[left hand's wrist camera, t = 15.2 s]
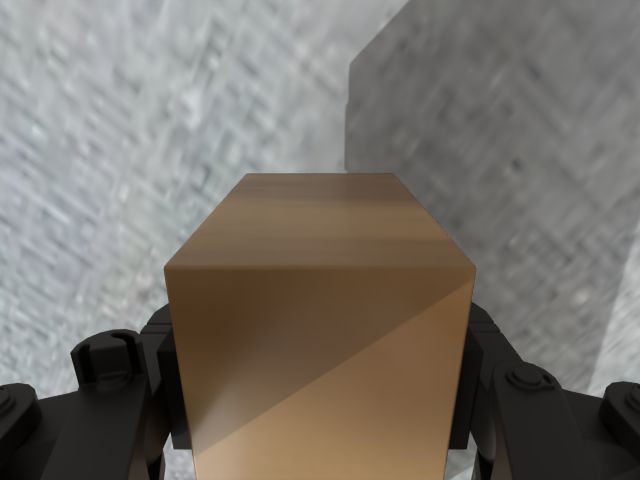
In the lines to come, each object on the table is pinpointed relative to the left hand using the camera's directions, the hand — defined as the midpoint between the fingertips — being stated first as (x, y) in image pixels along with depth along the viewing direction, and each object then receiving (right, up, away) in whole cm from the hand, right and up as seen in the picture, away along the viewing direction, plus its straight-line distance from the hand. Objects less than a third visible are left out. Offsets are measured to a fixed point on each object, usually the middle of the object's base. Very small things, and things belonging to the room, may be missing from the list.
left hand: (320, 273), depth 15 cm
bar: (0, -8, +4) cm, 9 cm away
